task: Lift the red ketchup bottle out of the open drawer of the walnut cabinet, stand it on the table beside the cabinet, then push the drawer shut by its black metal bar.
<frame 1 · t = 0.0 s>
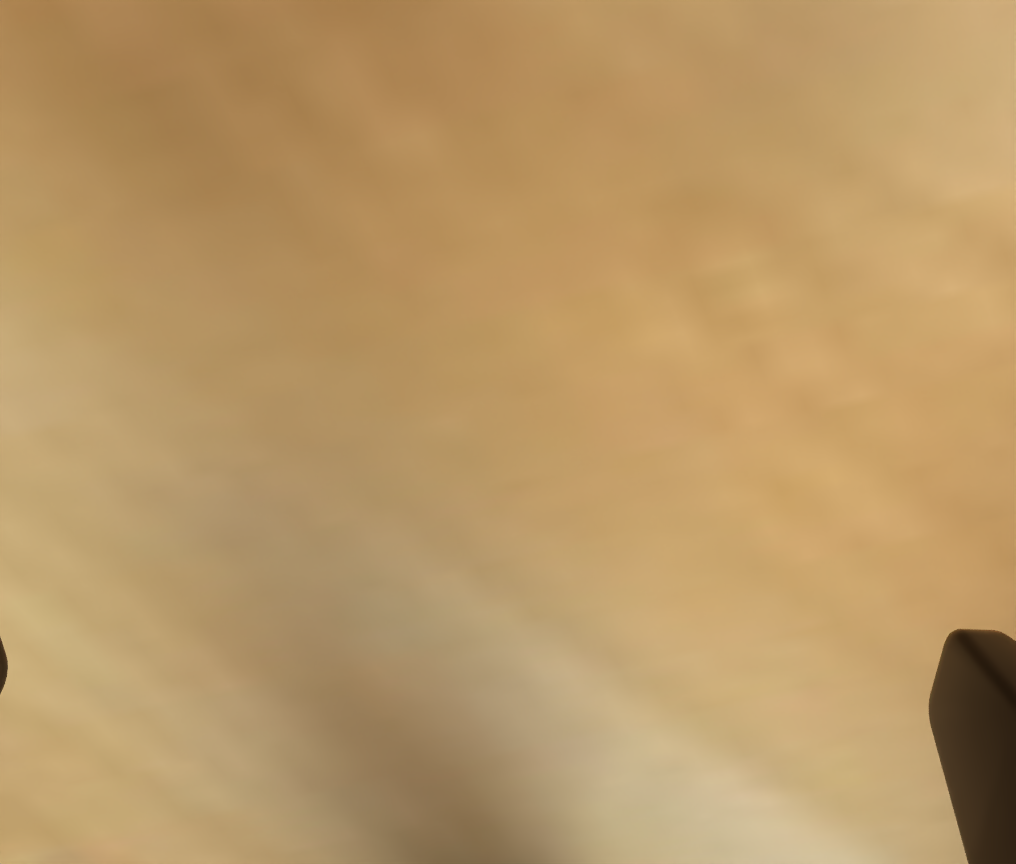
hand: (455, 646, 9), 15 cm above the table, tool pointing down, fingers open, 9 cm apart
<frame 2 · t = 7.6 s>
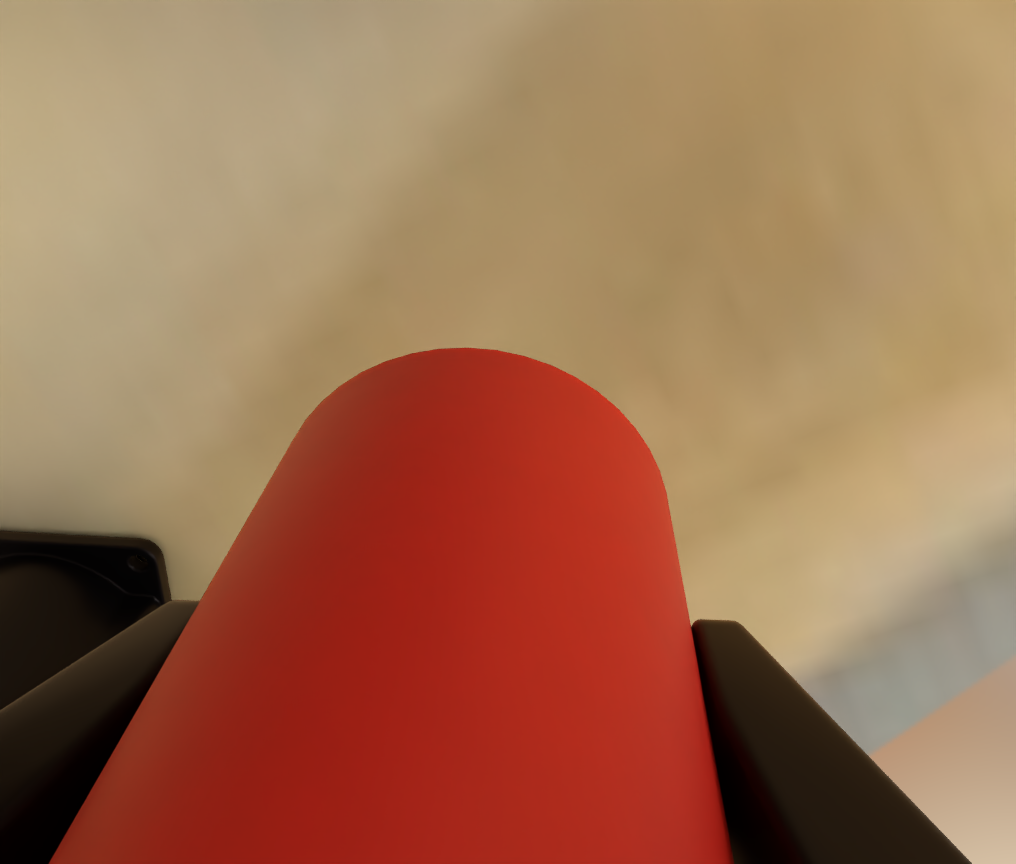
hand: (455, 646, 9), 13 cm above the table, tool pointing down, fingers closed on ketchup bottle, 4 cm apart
ketchup bottle: (472, 525, 10), point 11 cm above the table, touching gripper
when the fingers open (2 cm above the table, at t = 10.8 s): ketchup bottle stays where it is, on the table.
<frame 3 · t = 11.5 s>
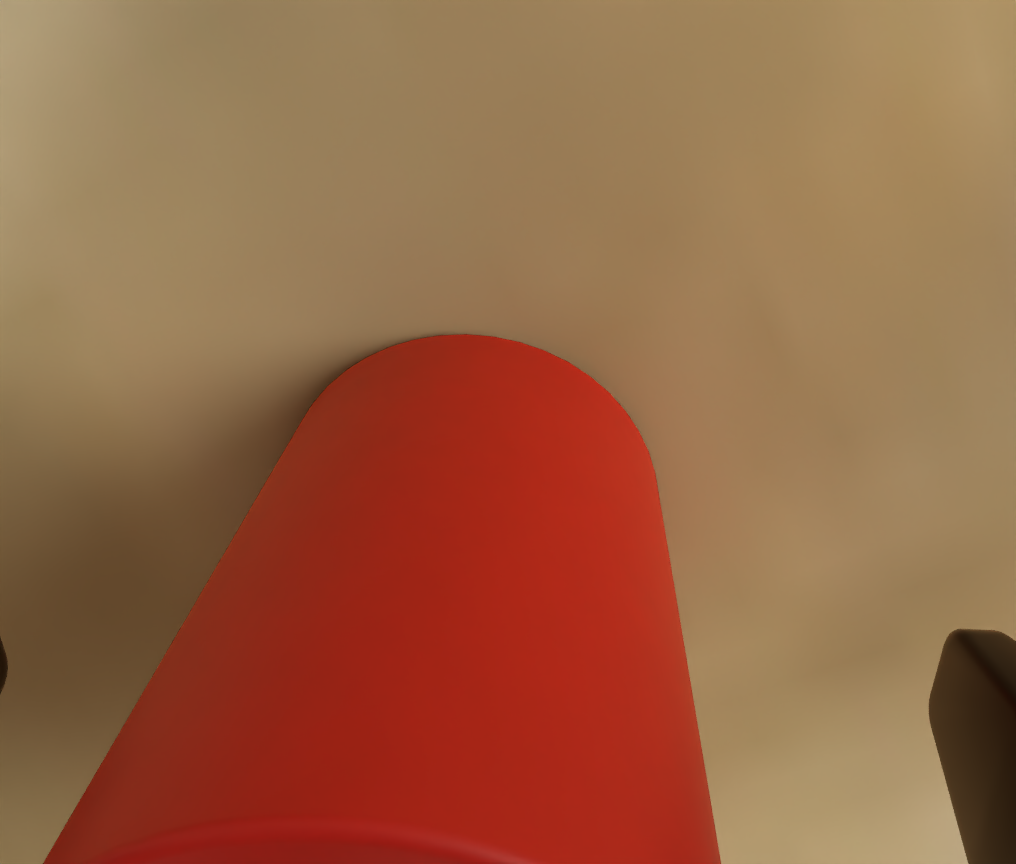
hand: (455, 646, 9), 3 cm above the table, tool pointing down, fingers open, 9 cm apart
ketchup bottle: (470, 505, 11), on the table
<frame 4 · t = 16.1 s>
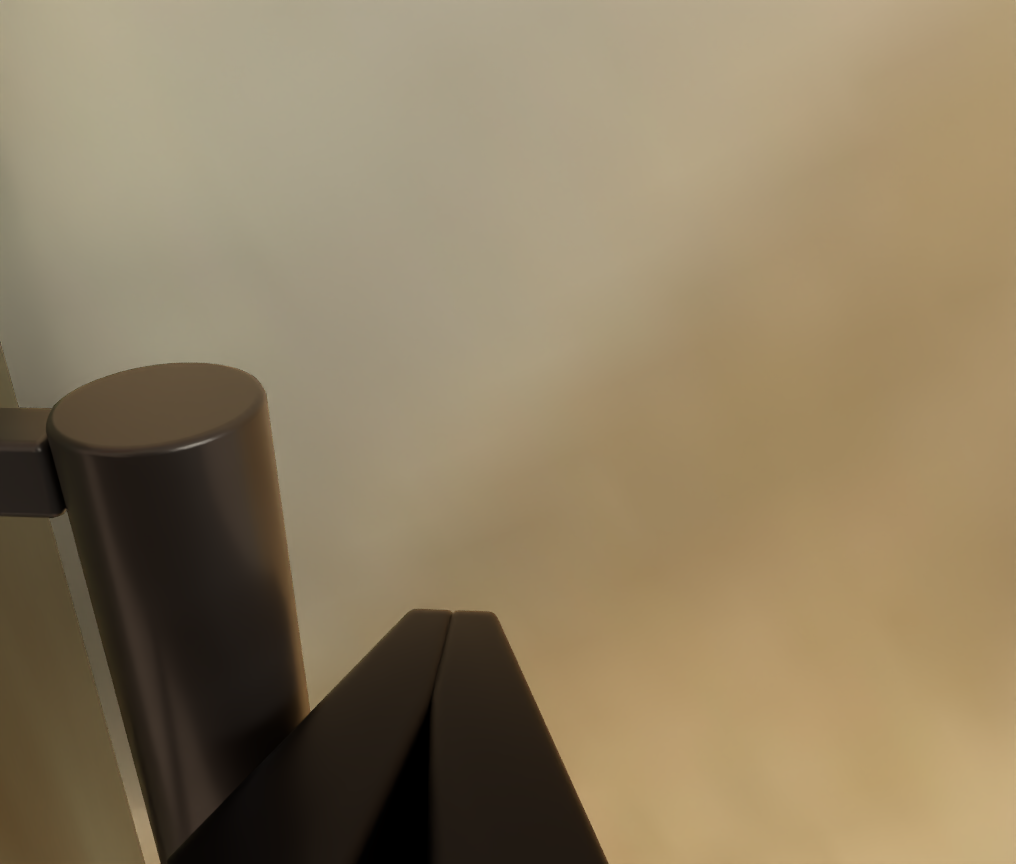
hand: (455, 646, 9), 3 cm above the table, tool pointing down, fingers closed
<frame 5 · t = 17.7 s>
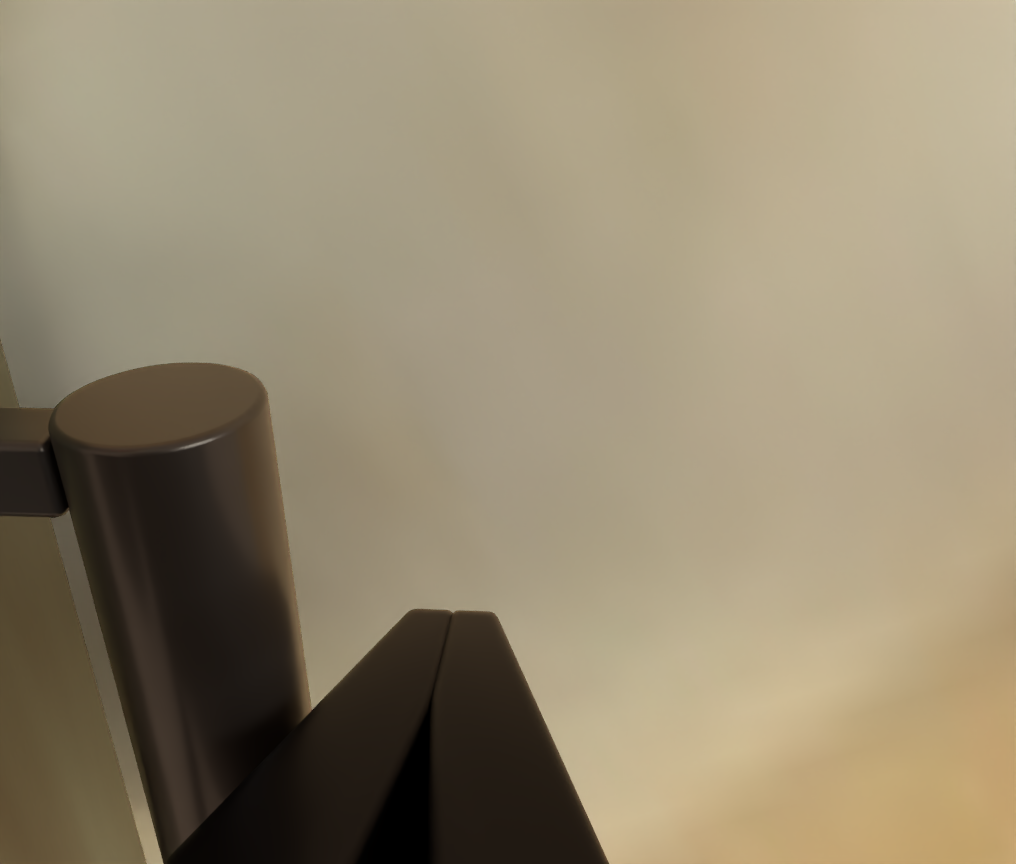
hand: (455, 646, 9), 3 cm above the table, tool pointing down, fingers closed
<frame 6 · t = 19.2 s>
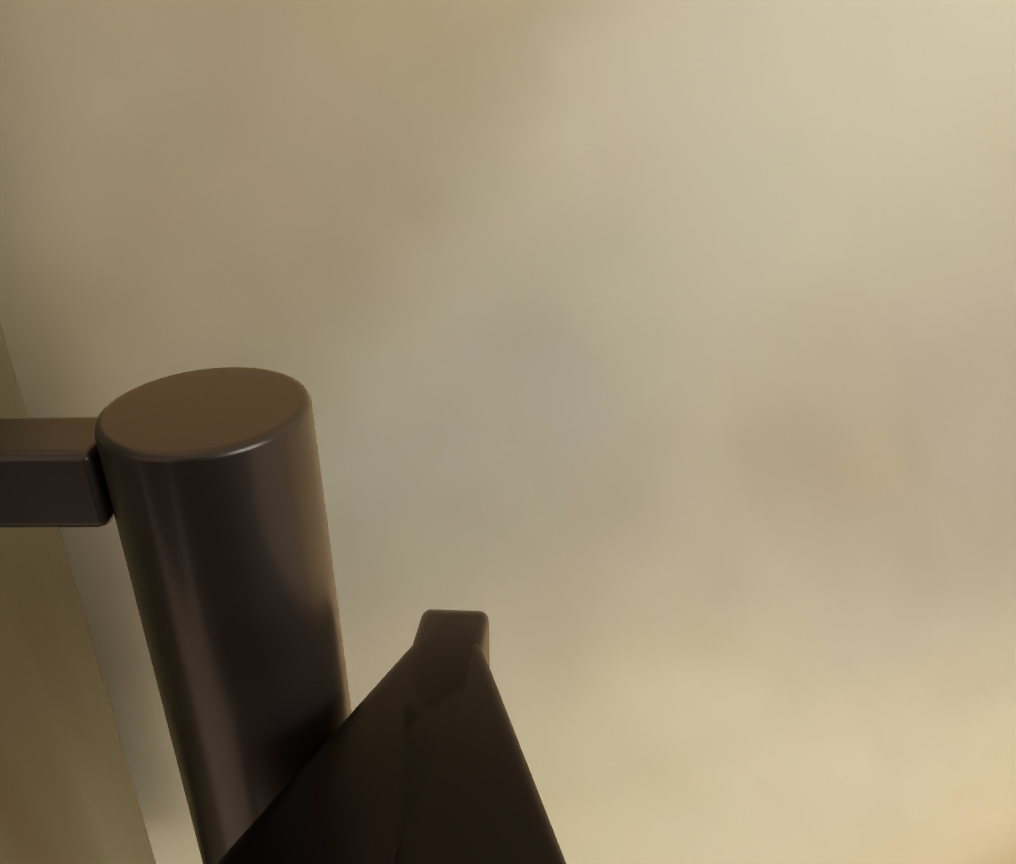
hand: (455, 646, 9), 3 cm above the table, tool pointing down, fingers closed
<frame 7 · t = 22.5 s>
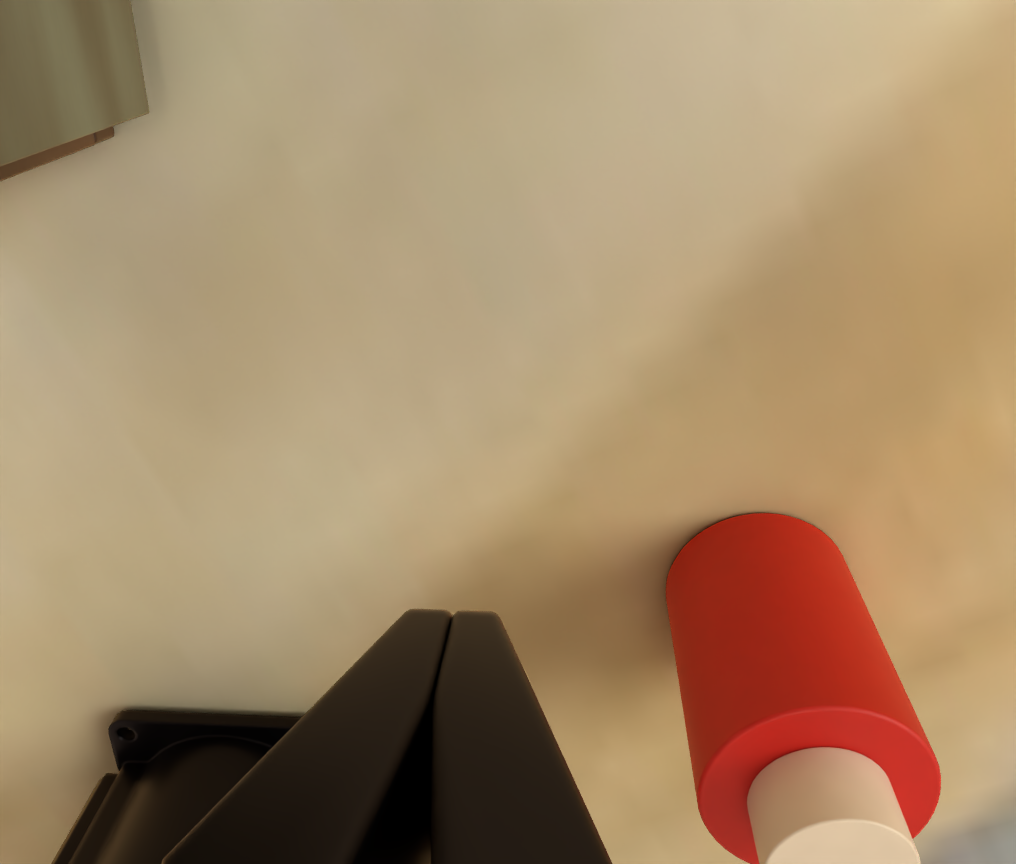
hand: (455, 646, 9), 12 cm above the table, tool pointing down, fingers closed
ketchup bottle: (755, 587, 23), on the table
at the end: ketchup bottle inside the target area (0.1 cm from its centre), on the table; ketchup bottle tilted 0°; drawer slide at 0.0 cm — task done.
